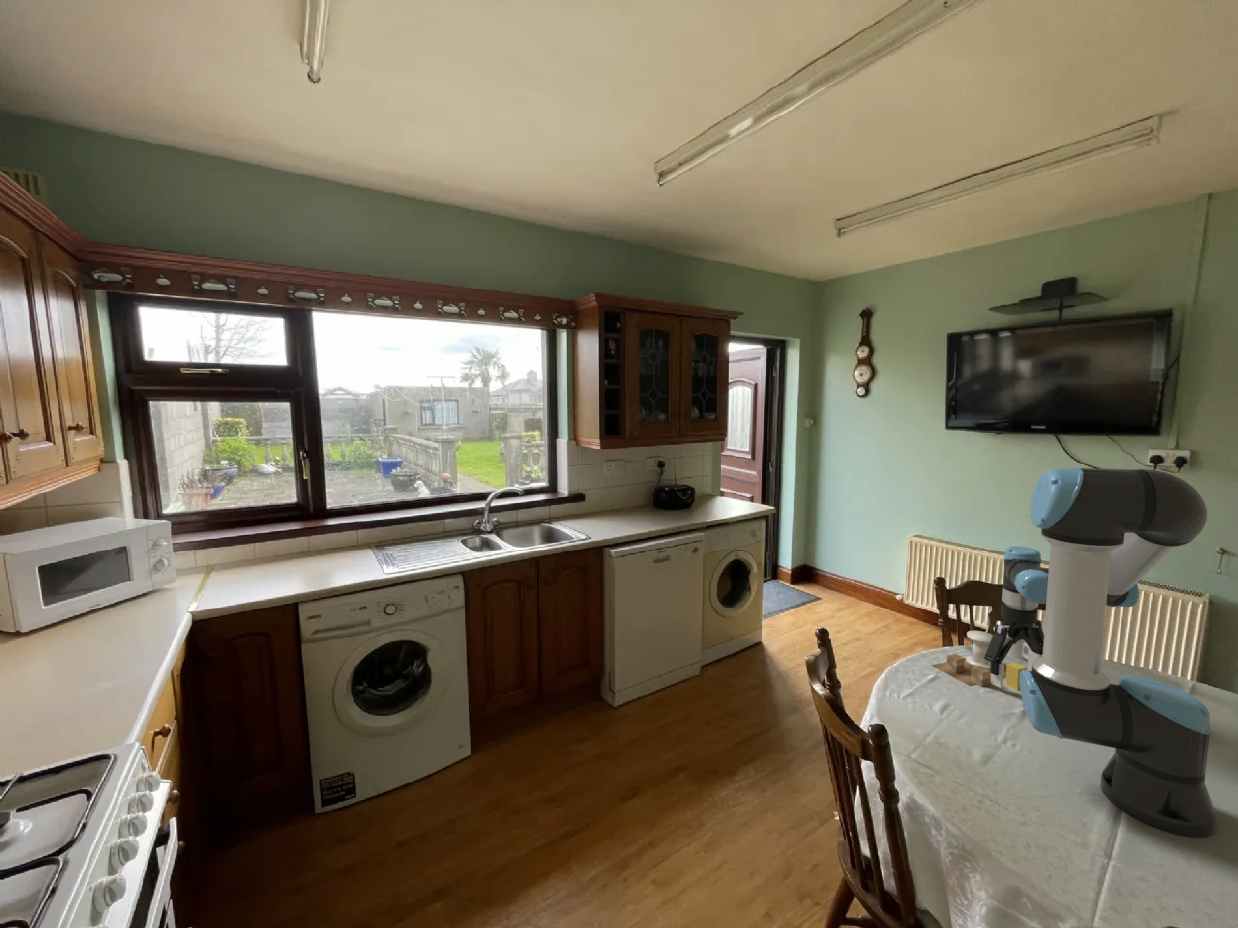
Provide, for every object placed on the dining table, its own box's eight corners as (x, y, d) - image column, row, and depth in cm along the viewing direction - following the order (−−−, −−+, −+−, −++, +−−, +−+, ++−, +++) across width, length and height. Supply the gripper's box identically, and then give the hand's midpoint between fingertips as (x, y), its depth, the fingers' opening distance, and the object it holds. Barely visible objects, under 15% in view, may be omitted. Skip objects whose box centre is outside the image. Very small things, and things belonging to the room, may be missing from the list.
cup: (1047, 670, 146) (1048, 644, 145) (1016, 668, 147) (1017, 642, 147) (1025, 653, 156) (1026, 628, 156) (996, 651, 158) (997, 627, 157)
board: (1028, 679, 141) (1029, 661, 141) (974, 692, 136) (975, 674, 135) (982, 658, 154) (983, 641, 154) (931, 669, 148) (931, 652, 148)
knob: (1001, 667, 146) (1002, 638, 145) (983, 671, 144) (984, 642, 143) (977, 656, 153) (979, 629, 152) (960, 660, 151) (961, 632, 150)
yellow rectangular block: (1025, 692, 135) (1026, 667, 135) (1016, 694, 134) (1018, 669, 134) (1013, 686, 138) (1014, 662, 137) (1005, 688, 137) (1006, 664, 137)
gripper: (1037, 593, 141) (1033, 665, 143) (970, 606, 134) (967, 682, 136) (1068, 603, 134) (1063, 678, 136) (998, 617, 127) (994, 696, 129)
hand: (1015, 680), depth 136 cm, fingers open, 13 cm apart
